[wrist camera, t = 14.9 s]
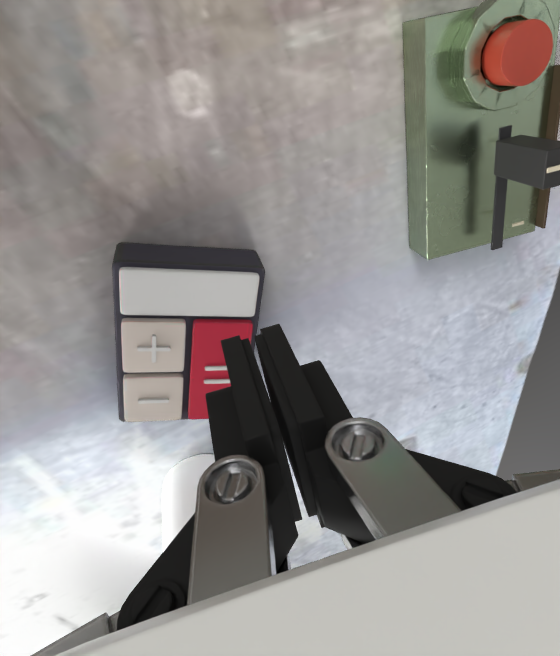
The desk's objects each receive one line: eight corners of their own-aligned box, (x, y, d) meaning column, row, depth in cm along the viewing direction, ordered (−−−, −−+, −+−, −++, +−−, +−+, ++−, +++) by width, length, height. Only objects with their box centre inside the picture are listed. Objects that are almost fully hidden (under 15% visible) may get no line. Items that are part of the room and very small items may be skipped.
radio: (409, 247, 41) (438, 268, 36) (401, 18, 32) (439, 9, 27) (510, 220, 42) (550, 237, 37) (530, -9, 33) (586, -22, 28)
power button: (479, 90, 31) (499, 91, 29) (482, 28, 29) (503, 25, 27) (527, 79, 31) (549, 79, 29) (533, 17, 29) (557, 13, 28)
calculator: (118, 429, 38) (110, 264, 31) (121, 396, 42) (115, 241, 34) (246, 423, 41) (268, 271, 34) (239, 392, 45) (257, 249, 37)
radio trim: (461, 234, 40) (492, 250, 36) (466, 81, 34) (503, 81, 30) (519, 218, 41) (554, 233, 37) (534, 65, 34) (579, 64, 31)
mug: (242, 522, 53) (258, 611, 44) (169, 535, 51) (171, 631, 42) (239, 445, 47) (258, 530, 38) (157, 457, 45) (157, 548, 37)
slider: (493, 175, 33) (543, 190, 29) (495, 140, 32) (548, 150, 27) (518, 168, 33) (571, 183, 29) (521, 134, 32) (578, 143, 28)
